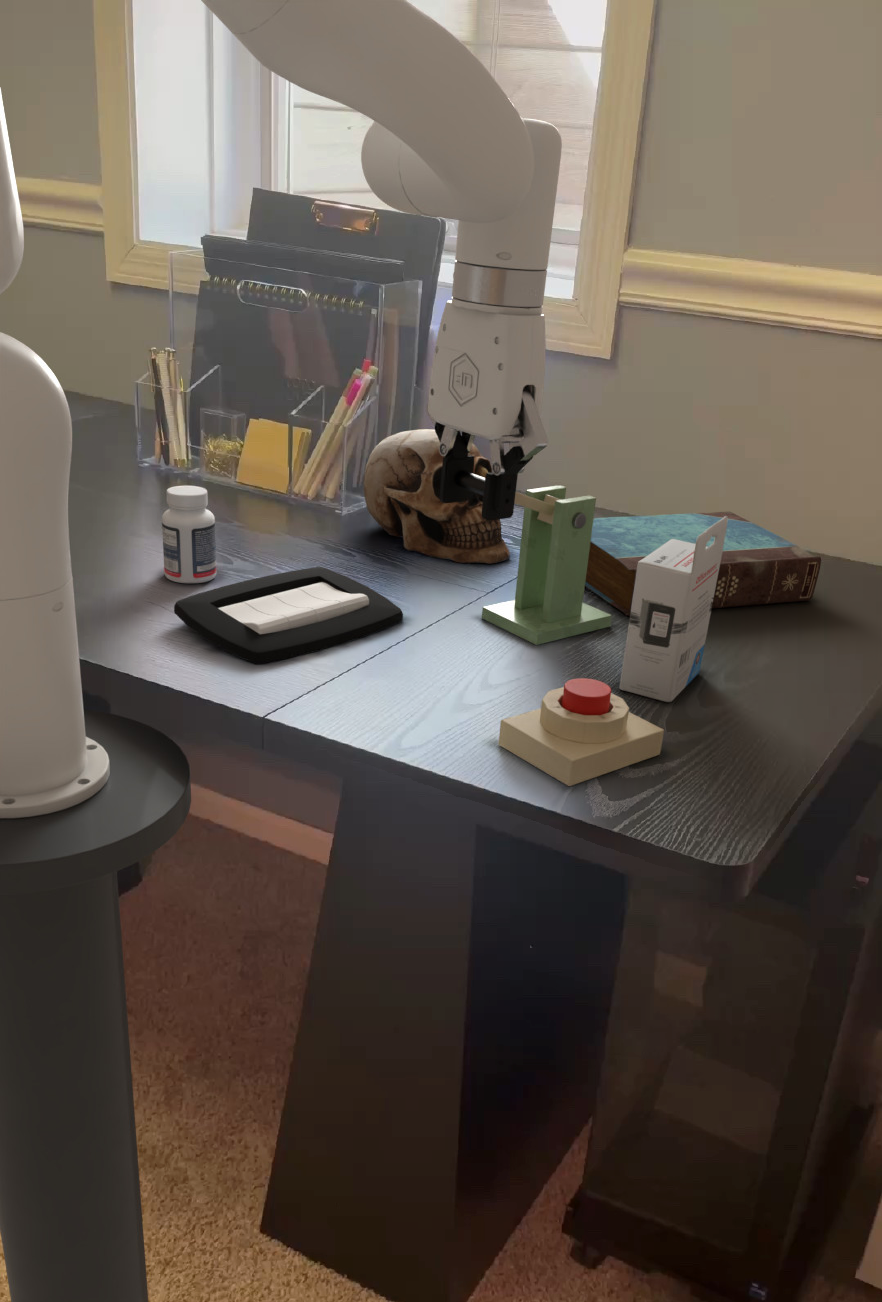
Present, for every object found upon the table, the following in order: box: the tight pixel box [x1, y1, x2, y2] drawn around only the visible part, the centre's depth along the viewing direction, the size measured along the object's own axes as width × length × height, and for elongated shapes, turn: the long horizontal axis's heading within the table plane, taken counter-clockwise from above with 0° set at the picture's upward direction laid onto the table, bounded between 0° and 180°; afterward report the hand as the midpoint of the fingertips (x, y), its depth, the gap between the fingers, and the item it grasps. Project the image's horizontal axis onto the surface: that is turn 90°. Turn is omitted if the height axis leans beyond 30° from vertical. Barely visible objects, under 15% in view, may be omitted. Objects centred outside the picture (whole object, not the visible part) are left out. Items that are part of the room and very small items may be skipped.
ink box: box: [619, 516, 728, 703], centre depth 103 cm, size 9×5×15 cm, turn 151°
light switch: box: [173, 566, 404, 664], centre depth 113 cm, size 20×3×14 cm
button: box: [562, 677, 612, 715], centre depth 91 cm, size 4×4×2 cm
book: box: [585, 511, 822, 616], centre depth 131 cm, size 23×18×5 cm
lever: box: [455, 470, 561, 524], centre depth 109 cm, size 13×5×2 cm, turn 129°
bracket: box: [481, 484, 613, 646], centre depth 115 cm, size 10×8×13 cm
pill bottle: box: [161, 485, 218, 584], centre depth 121 cm, size 5×5×9 cm
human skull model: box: [363, 428, 511, 565], centre depth 137 cm, size 16×17×13 cm
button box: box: [498, 686, 665, 787], centre depth 93 cm, size 10×8×4 cm
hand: (475, 507), depth 106 cm, fingers closed on lever, 5 cm apart
